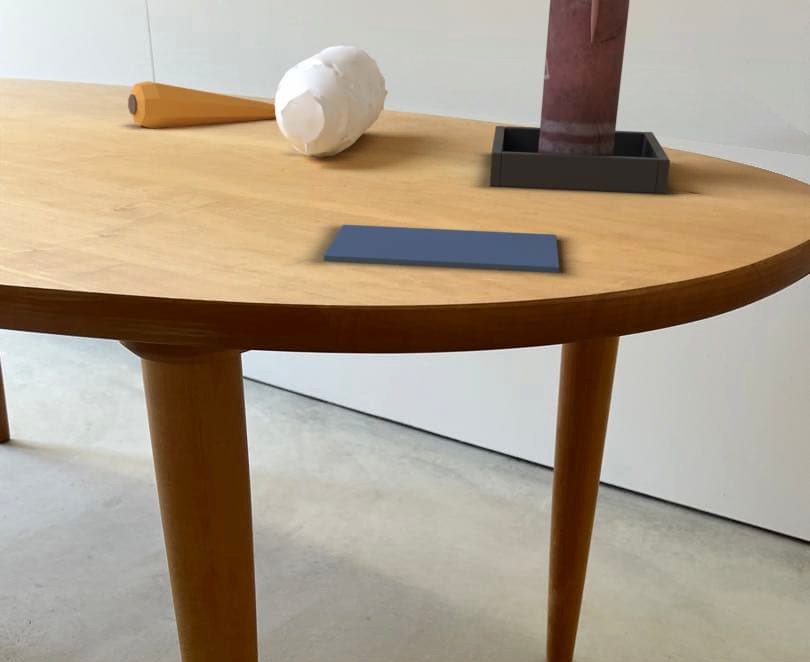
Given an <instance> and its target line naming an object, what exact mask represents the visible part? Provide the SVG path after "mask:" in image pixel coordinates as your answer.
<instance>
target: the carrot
mask: <svg viewBox="0 0 810 662" xmlns="http://www.w3.org/2000/svg"><path fill="white" fill-rule="evenodd" d="M127 105H128V106H127V107H128V111H129V113H130V115H131V116H132V119H133V122H134V124H136V125H139V126H142V127H145V128H149V129H158V128H159V129H160V128H172V127H185V126H186V127H187V126H199V125H211V124H223V123H234V122H236V123H237V122H247V121H249V122H250V121H259V120H272V119H273V120H274V119H276V115H275V104H274V103H268V102H265V101H261V100H260V101H259V100H253V99H248V98H243V97H238V96H232V95H226V94H221V93H215V92H211V91H204V90H198V89H195V88H194V89H193V88H188V87H182V86H177V85H171V84H166V83H161V82H155V81H150V80H147V81H143V82H137V83H135V84H134V85H133V88H132V90H131V93H130V94H129V96H128V99H127Z"/></svg>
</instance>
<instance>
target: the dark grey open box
mask: <svg viewBox="0 0 810 662" xmlns="http://www.w3.org/2000/svg"><path fill="white" fill-rule="evenodd" d="M539 136H540V127H536V126H534V127H533V126H509V125H506V126H504V125H496V126H495V129H494V136H493V141H492V147H491V148H492V149H491V154H490V155H491V157H490V173H489V188H508V189H530V190H553V191H555V190H556V191H575V192H577V191H578V192H600V193H621V194H622V193H623V194H644V195H645V194H646V195H665V196H666V193H667V186H668V179H669V172H670V164H671V160H670V158H669V157H668V154H667V153H666V152H665V150H664V148H663V147H662V146H661V144H660V142H659V140H658V139H657V138H656V135H655V134H654V132H652V131H635V130H615V138H614V147H613V156H598V155H575V154H551V153H538V149H539Z"/></svg>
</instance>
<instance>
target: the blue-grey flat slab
mask: <svg viewBox="0 0 810 662" xmlns="http://www.w3.org/2000/svg"><path fill="white" fill-rule="evenodd" d="M341 225H342V226H341V227H340V228H339V230H338V232H337V233H336V235H335V237H334V238H333V240H332V241H331V242H330V245H329V246H328V248H327V249H326V251H325V252H324V254H323V257H322V259H323V262H329V263H330V262H331V263H353V264H369V265H370V264H371V265H392V266H411V267H432V268H452V269H453V268H454V269H471V270H472V269H473V270H493V271H513V272H514V271H515V272H531V273H550V274H552V273H553V274H559V273H560V259H559V249H558V248H559V247H558V239H557V234H552V233H551V234H550V233H549V234H548V233H533V232H531V233H530V232H511V231H509V232H507V231H489V230H488V231H487V230H470V229H469V230H468V229H467V230H465V229H448V228H447V229H446V228H445V229H443V228H425V227H424V228H423V227H406V226H405V227H404V226H403V227H402V226H383V225H381V226H380V225H363V224H362V225H361V224H356V225H355V224H341Z"/></svg>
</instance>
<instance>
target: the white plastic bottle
mask: <svg viewBox="0 0 810 662" xmlns="http://www.w3.org/2000/svg"><path fill="white" fill-rule="evenodd" d="M378 63H379V62H378V61H377V60H376V59H375V58H374V57H371V56H370V55H369V54H368V53H367V52H366V51H365V50H363V49H359V48H358V47H356V46H354V45H349V46H346V45H344V44H341V45H335V46H334V45H333V46H329V47H327V48H325V49H322V50H321V51H319V53H316V54H314V55H312V56H310V57H308V58H306V59H303V60H302V61H300V62H298V63H297V64H296V65H295V66H293V67H291V68H289V69H288V70H287V71H286V73H285V74H284V76H283V77H282V79H281V80H280V82H279V83H278V85H277V88H276V89H277V90H276V92H275V98H274V105H275V115H276V118H275V120H276V123H277V125H278V130H279V132H281V134H282V135H283V137H284V138H285V140H286V141H288V142H289V143H290V145H292V147H293V148H294V149H295V151H297V152H300V153H301V154H302V155H304V156H307V157H320V158H324V157H325V158H326V157H334V156H335V155H337V154H339V153H341V152H343V151H344V150H346V149H347V148H349V147H351V146H352V145H353V144H354V143H355V142H356V141H357V140H358V139H360V137H361V136H362V135H364V133H365V132H366V131H367V130H369V129H370V128H371V127H372V126H373V125H374V124H375V123H376V122H377V120H378V119H379V117H380V114H381V113H382V111H384V107H385V102H386V97H387V95H388V94H389V91H388V90H386V79H385V77H384V76H383V74H382V73H381V70H380V68H379V67H378Z"/></svg>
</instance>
